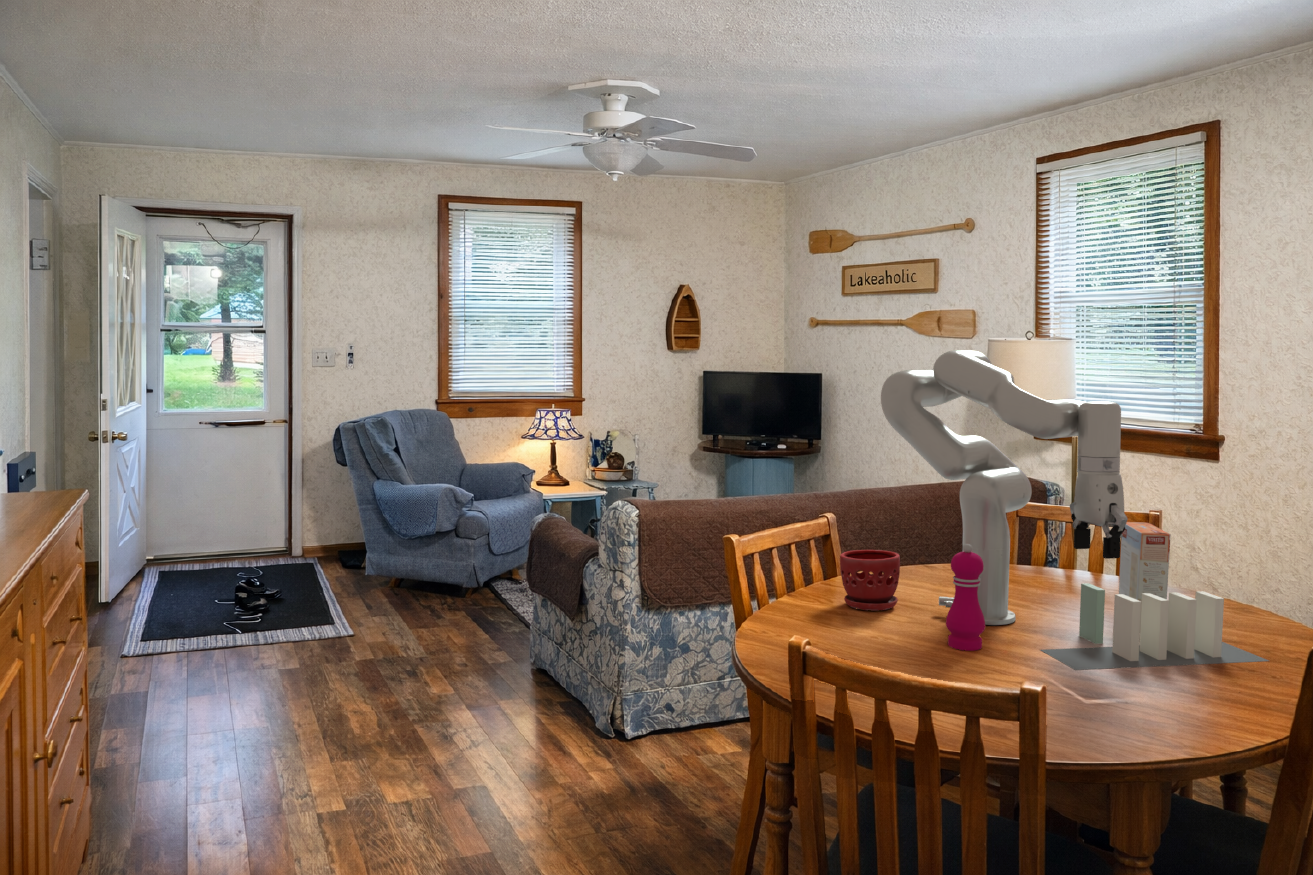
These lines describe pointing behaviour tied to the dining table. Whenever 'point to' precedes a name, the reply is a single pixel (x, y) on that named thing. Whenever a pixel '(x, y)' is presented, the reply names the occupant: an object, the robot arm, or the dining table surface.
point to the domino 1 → (1126, 627)
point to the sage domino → (1092, 613)
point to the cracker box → (1144, 561)
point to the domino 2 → (1154, 626)
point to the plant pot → (870, 578)
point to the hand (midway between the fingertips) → (1096, 553)
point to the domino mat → (1143, 658)
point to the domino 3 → (1181, 625)
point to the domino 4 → (1209, 623)
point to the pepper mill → (966, 602)
